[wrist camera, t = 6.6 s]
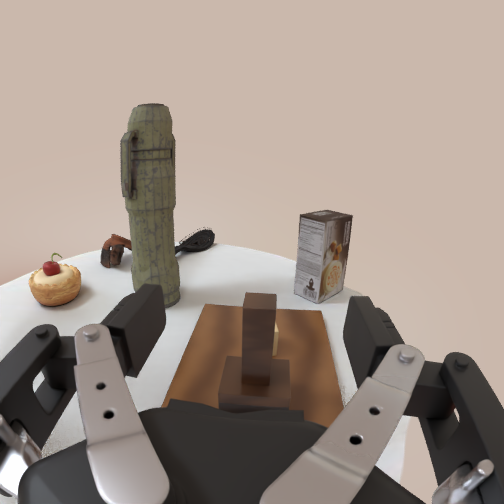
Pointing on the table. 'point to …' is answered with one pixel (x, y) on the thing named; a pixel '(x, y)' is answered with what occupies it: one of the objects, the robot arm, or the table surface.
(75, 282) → the pastry
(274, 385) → the wooden post on base
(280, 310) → the cutting board
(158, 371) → the table surface
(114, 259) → the brown looped piece
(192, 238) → the hairbrush
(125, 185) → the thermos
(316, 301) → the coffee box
